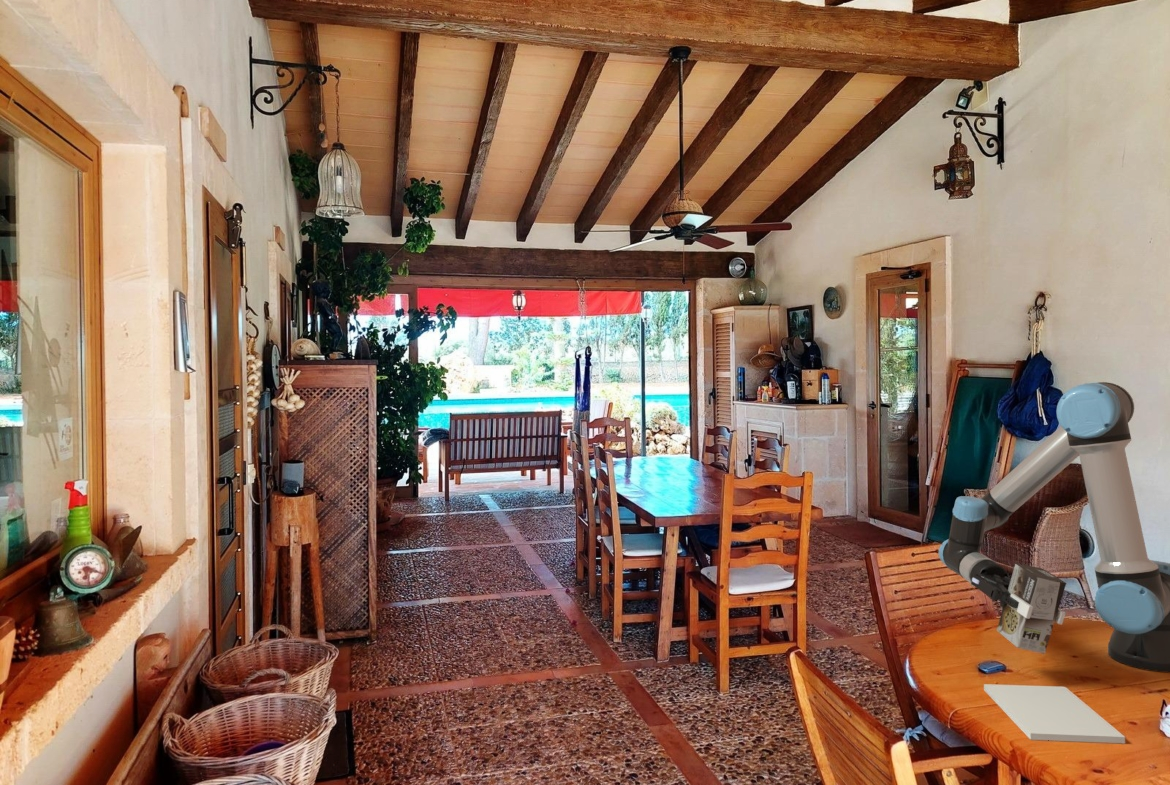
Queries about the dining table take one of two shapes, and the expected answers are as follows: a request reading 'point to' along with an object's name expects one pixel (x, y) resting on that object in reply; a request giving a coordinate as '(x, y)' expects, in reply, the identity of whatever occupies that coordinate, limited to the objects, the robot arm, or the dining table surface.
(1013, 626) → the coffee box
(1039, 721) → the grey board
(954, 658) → the dining table surface
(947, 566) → the robot arm
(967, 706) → the dining table surface
